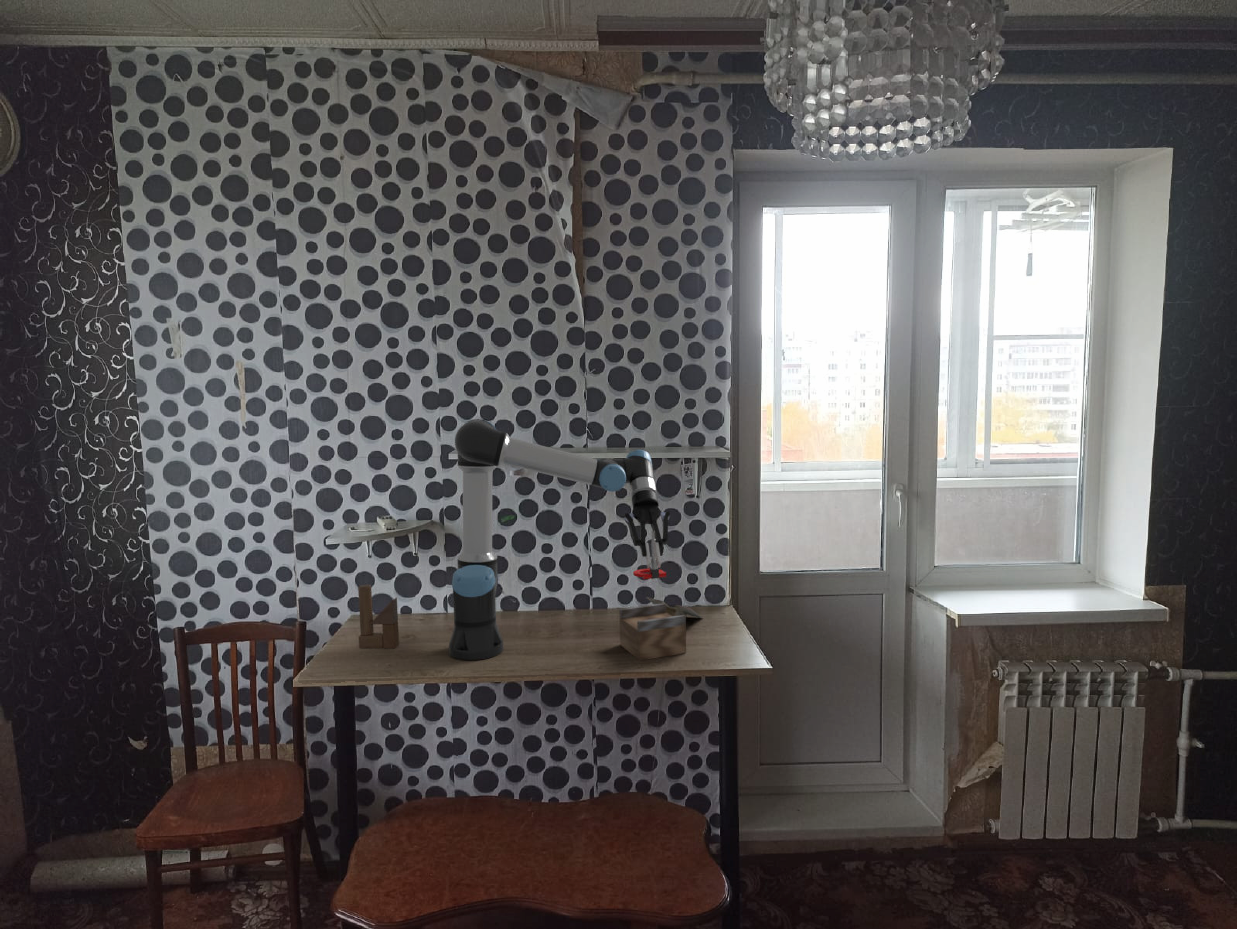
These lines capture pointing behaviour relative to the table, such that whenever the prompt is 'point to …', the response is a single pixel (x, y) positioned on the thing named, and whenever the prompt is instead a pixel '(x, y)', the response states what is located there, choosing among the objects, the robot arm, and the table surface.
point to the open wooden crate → (652, 632)
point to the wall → (675, 609)
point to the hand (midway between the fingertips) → (654, 565)
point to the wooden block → (377, 622)
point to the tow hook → (654, 570)
